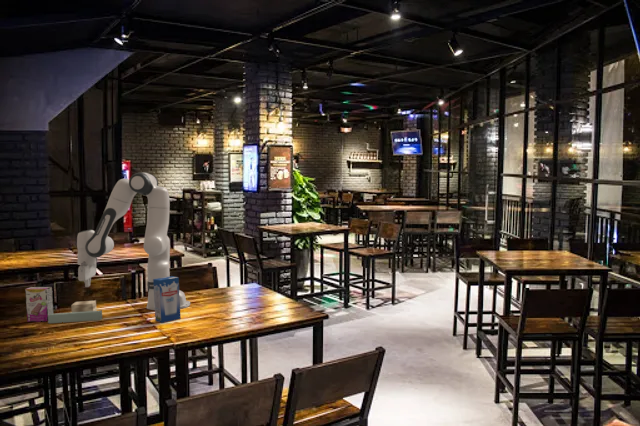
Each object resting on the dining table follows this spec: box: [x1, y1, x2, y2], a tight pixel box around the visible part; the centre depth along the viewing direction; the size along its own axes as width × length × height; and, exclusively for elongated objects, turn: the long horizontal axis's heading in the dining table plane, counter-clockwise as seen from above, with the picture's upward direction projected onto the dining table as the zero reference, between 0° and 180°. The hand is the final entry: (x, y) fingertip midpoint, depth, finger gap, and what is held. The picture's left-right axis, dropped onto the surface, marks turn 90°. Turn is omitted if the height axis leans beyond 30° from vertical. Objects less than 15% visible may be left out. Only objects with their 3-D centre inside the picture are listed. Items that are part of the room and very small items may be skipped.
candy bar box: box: [24, 286, 54, 323], centre depth 263 cm, size 11×5×16 cm, turn 84°
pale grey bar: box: [47, 310, 103, 324], centre depth 261 cm, size 24×3×4 cm, turn 98°
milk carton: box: [153, 275, 182, 324], centre depth 256 cm, size 10×6×20 cm, turn 134°
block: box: [71, 299, 97, 312], centre depth 275 cm, size 10×8×6 cm
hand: (87, 286), depth 284 cm, fingers closed
